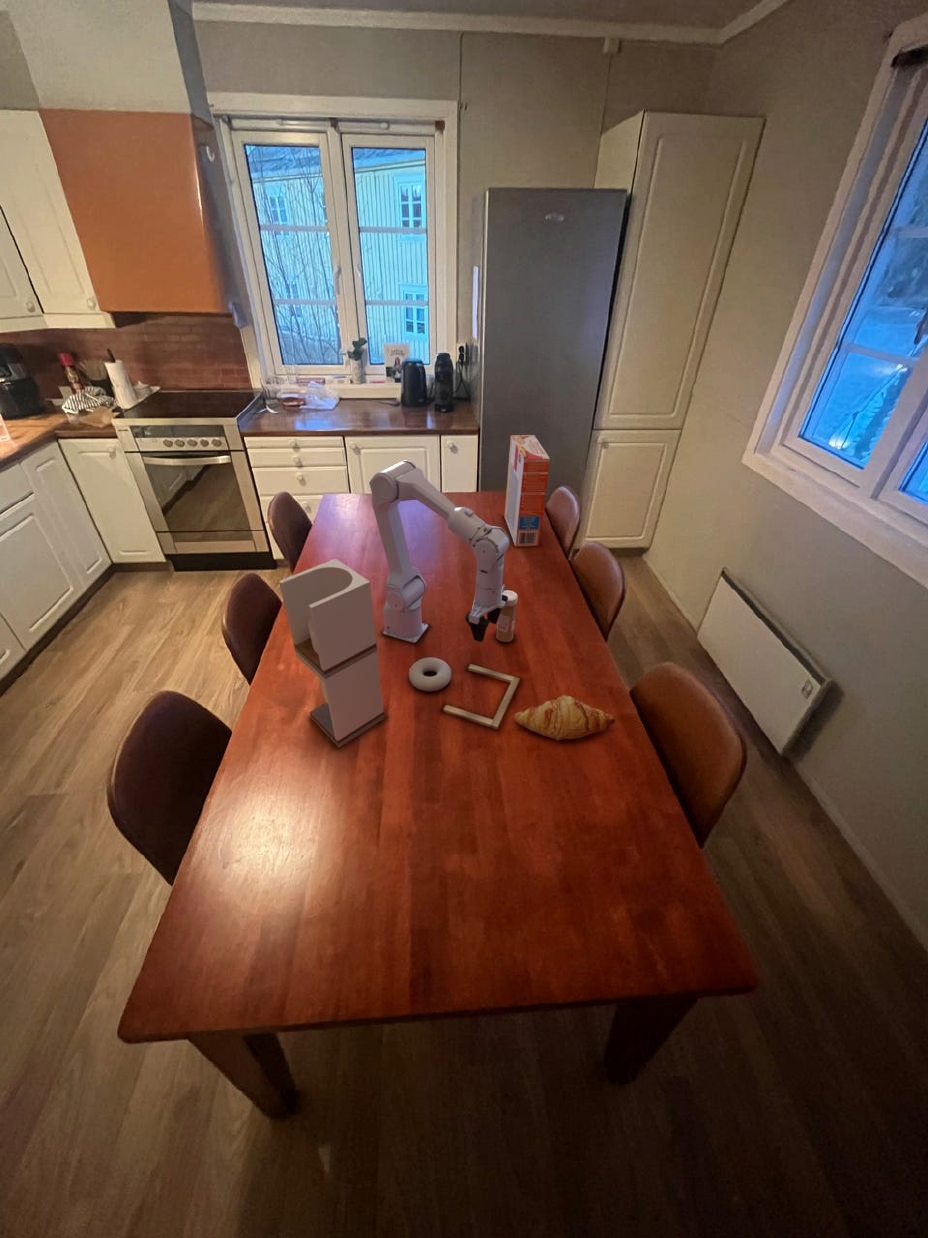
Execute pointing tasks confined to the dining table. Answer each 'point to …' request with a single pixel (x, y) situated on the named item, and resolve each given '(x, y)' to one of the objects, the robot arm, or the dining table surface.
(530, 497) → the cereal box
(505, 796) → the dining table surface
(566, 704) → the croissant
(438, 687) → the donut
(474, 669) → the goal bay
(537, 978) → the dining table surface
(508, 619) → the sprinkles bottle
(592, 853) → the dining table surface
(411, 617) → the robot arm
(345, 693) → the grey pedestal stand
